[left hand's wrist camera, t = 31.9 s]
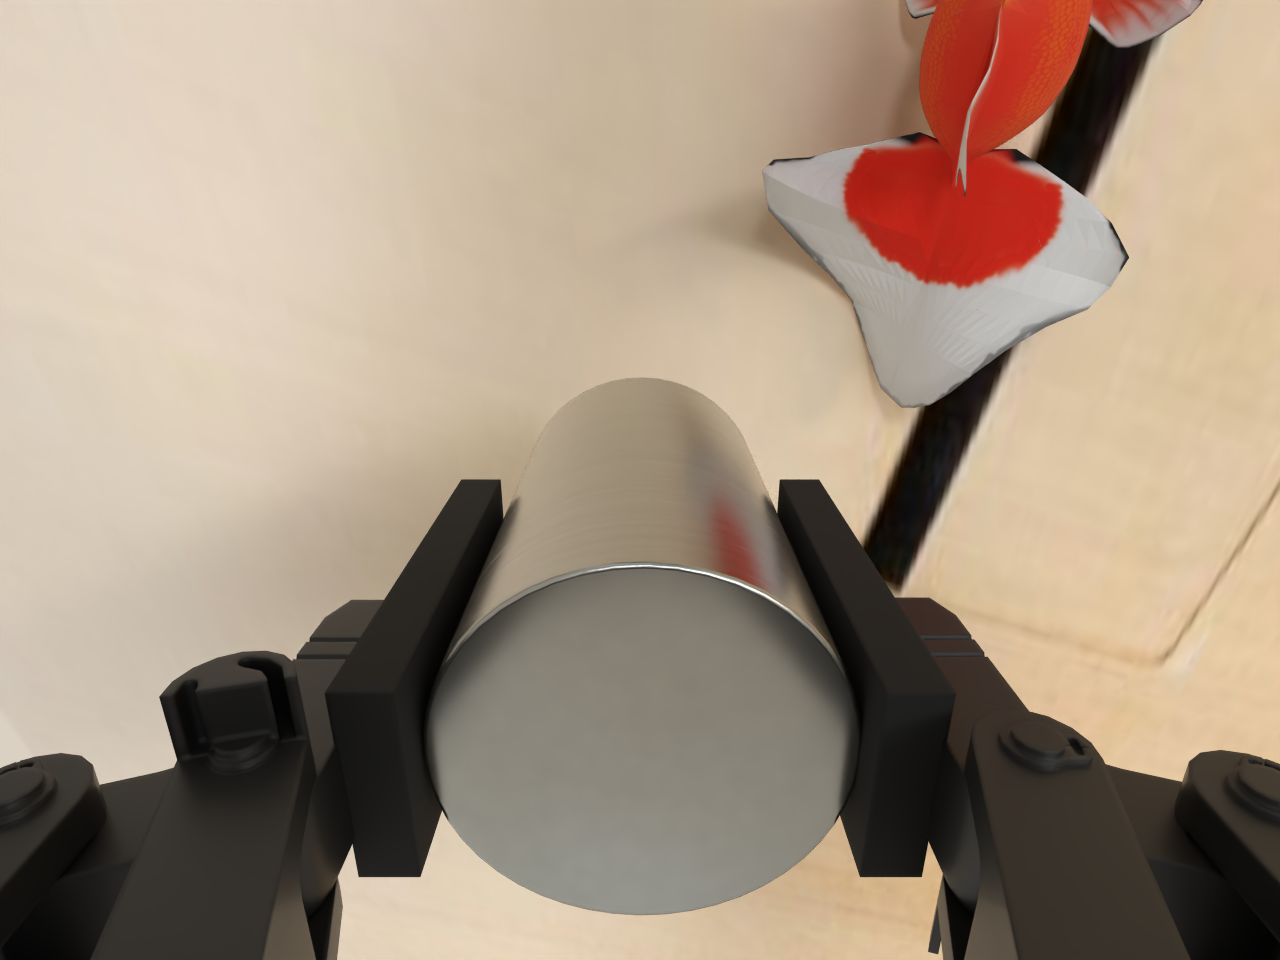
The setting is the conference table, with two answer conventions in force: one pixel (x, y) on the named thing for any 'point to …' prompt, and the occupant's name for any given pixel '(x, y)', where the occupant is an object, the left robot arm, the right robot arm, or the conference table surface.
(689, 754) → the tin
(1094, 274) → the fish
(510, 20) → the conference table surface
